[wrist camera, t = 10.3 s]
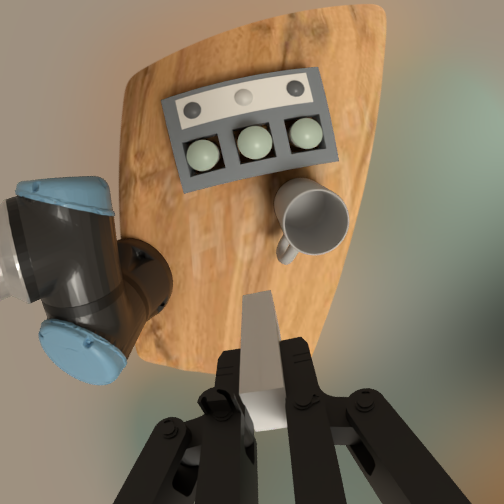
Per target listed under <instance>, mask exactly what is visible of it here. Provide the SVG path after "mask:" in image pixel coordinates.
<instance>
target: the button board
mask: <svg viewBox="0 0 504 504" xmlns="http://www.w3.org/2000/svg"><path fill="white" fill-rule="evenodd" d="M298 73H306V75H307V78H308V82H309V86H310V90H311V94H312V98H313V102H309V103H302V104H295V105H288V106H282V107H276V108H270V109H265V110H259V111H254V112H249V113H245V114H240V115H236V116H231V117H227V118H223V119H219V120H215V121H211V122H207V123H204V124H200V125H196V126H193V127H189V128H186V129H183V130H182V128H181V124H180V120H179V116H178V111H177V107H176V102H175V100H178V99H181V98H184V97H188V96H191V95H194V94H198V93H201V92H205V91H209V90H213V89H216V88H221V87H225V86H229V85H233V84H238V83H243V82H248V81H253V80H258V79H264V78H270V77H276V76H283V75H290V74H298ZM161 103H162V107H163V112H164V116H165V120H166V125H167V129H168V133H169V137H170V141H171V145H172V150H173V154H174V158H175V161H176V165H177V169H178V173H179V177H180V181H181V184H182V188H183V192H184V194H185V193H188V192H192V191H196V190H200V189H204V188H208V187H212V186H216V185H220V184H224V183H228V182H232V181H237V180H241V179H246V178H250V177H255V176H259V175H264V174H269V173H274V172H279V171H284V170H289V169H295V168H300V167H306V166H312V165H318V164H324V163H330V162H336V161H339V158H338V153H337V147H336V142H335V137H334V132H333V127H332V122H331V117H330V113H329V108H328V104H327V100H326V96H325V92H324V88H323V84H322V80H321V76H320V72H319V69H318V67H311V68H301V69H292V70H284V71H277V72H271V73H265V74H259V75H253V76H248V77H243V78H238V79H234V80H229V81H225V82H221V83H217V84H213V85H209V86H205V87H202V88H198V89H195V90H191V91H188V92H184V93H181V94H178V95H175V96H172V97H169V98H166V99H163V100H161ZM310 117H312V119H313V120H315V121H316V122H317V123H318V124H319V125H320V127H321V129H322V133H323V135H322V140H321V142H320V143H319V144H318V148H317V149H311V150H305V151H299V152H293V153H291V151H290V146H289V141H288V137H287V132H286V128H285V123H284V121H290V120H296V119H302V118H310ZM262 125H267V127H268V132H269V134H270V135H271V138H272V150H273V154H274V156H272V157H267V158H262V159H257V160H253V161H248V162H244V163H241V160H240V155H239V151H238V147H237V143H236V139H235V134H234V131H238V130H243V129H246V128H248V127H251V126H262ZM217 135H218V138H219V142H220V146H221V151H222V155H223V159H224V163H225V167H222V168H218V169H214V170H210V171H206V172H202V173H199V174H196V170H195V169H193V168H192V167H191V166H190V165H189V163H188V161H187V151H188V148H189V147H190V146H189V143H191V142H195V141H198V140H202V139H206V138H210V137H213V136H217Z"/></svg>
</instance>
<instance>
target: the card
mask: <svg viewBox="0 0 504 504" xmlns="http://www.w3.org/2000/svg"><path fill="white" fill-rule="evenodd" d="M175 102H176V107H177V111H178V116H179V120H180V124H181V128H182V130H183V129H186V128H189V127H193V126H196V125H200V124H204V123H207V122H211V121H215V120H219V119H223V118H227V117H231V116H236V115H240V114H245V113H249V112H254V111H259V110H265V109H270V108H276V107H282V106H288V105H295V104H302V103H309V102H313V98H312V94H311V90H310V86H309V82H308V78H307V75H306V73H298V74H290V75H283V76H276V77H270V78H264V79H258V80H253V81H248V82H243V83H238V84H233V85H229V86H225V87H221V88H216V89H213V90H209V91H205V92H201V93H198V94H194V95H191V96H188V97H184V98H181V99H178V100H175Z"/></svg>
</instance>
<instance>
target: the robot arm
mask: <svg viewBox="0 0 504 504" xmlns="http://www.w3.org/2000/svg"><path fill="white" fill-rule="evenodd" d="M15 192H16V195H17V196H16V197H12V198H9V199H6V200H3V202H2V203H1V205H0V301H1V300H3V299H5V298H8V297H10V296H13V297H16V298H18V299H20V300H22V301H24V302H26V303H28V304H30V303H32V302H35V301H37V300H39V299H41V301H42V303H43V306H44V309H45V312H46V315H47V320H44V321H43V322H42V324H41V328H40V331H39V340H40V343H41V346H42V348H43V350H44V351H45V353H46V354H47V355H48V357H49V358H50V359H51V360H52V361H53V362H54V363H55V364H56V365H57V366H58V367H59V368H60V369H62V370H63V371H64V372H66V373H67V374H69V375H71V376H72V377H74V378H76V379H78V380H80V381H83V382H85V383H89V384H94V385H107V384H110V383H112V382H113V381H115V380H116V379H117V377H118V376H119V374H120V373H121V371H122V370H123V368H124V367H125V366H126V364H127V359H128V357H129V355H130V353H131V351H132V349H133V347H134V345H135V343H136V341H137V339H138V337H139V335H140V333H141V331H142V329H143V327H144V325H145V323H146V321H148V320H149V319H151V318H152V317H154V316H155V315H157V314H158V313H159V312H161V311H162V310H163V308H164V307H165V306H166V304H167V302H168V300H169V298H170V296H171V293H172V289H173V279H172V274H171V271H170V268H169V266H168V264H167V262H166V261H165V259H164V258H163V257H162V255H161V254H160V253H159V252H158V251H157V250H156V249H154V248H153V247H152V246H150V245H149V244H147V243H145V242H142V241H140V240H136V239H120V240H117V239H116V232H115V223H114V216H115V213H114V211H113V209H112V204H111V196H110V189H109V186H108V184H107V182H106V181H105V180H104V179H102V178H100V177H96V176H82V177H63V178H48V179H38V180H31V181H21V182H19V183H18V184H17V188H16V190H15ZM198 404H199V406H200V407H201V409H202V410H203V412H204V415H202V416H200V417H198V418H195V419H193V420H189V421H186V422H183V421H182V420H181V419H179V418H176V417H169V418H166V419H163V420H162V421H160V422H159V423H158V424H157V425H156V426H155V428H154V430H153V431H152V433H151V435H150V437H149V439H148V441H147V443H146V444H145V446H144V448H143V450H142V452H141V453H140V455H139V457H138V459H137V461H136V463H135V464H134V466H133V468H132V470H131V472H130V474H129V475H128V477H127V479H126V481H125V483H124V485H123V486H122V488H121V490H120V492H119V494H118V495H117V497H116V499H115V501H114V503H113V504H194V501H195V504H258V474H257V443H256V439H255V437H254V428H255V430H256V431H265V430H272V429H278V428H285V427H287V428H288V436H289V446H290V455H291V465H292V474H293V484H294V494H295V504H347V503H346V498H345V493H344V488H343V483H342V478H341V474H340V469H339V465H338V460H337V455H336V451H335V446H334V445H346V447H347V448H348V450H349V451H350V453H351V455H352V456H353V458H354V459H355V461H356V463H357V464H358V466H359V467H360V469H361V471H362V472H363V474H364V476H365V477H366V479H367V480H368V482H369V483H370V485H371V486H372V488H373V490H374V491H375V493H376V494H377V496H378V498H379V499H380V501H381V502H382V503H383V504H471V503H470V501H469V500H468V499H467V497H466V496H465V495H464V494H463V493H462V491H461V490H460V489H459V488H458V486H457V485H456V484H455V483H454V481H453V480H452V479H451V478H450V476H449V475H448V474H447V473H446V472H445V471H444V469H443V468H442V467H441V465H440V464H439V463H438V462H437V461H436V460H435V458H434V457H433V456H432V454H431V453H430V452H429V451H428V450H427V448H426V447H425V446H424V445H423V444H422V442H421V441H420V440H419V439H418V437H417V436H416V435H415V434H414V433H413V432H412V430H411V429H410V428H409V427H408V425H407V424H406V423H405V422H404V421H403V419H402V418H401V417H400V416H399V415H398V413H397V412H396V411H395V410H394V409H393V407H392V406H391V405H390V404H389V403H388V402H387V400H386V399H385V398H384V397H383V395H382V394H381V393H379V392H378V391H376V390H374V389H370V388H366V389H360V390H357V391H355V392H354V393H352V394H351V395H350V396H349V397H333V396H329V395H327V394H325V393H324V392H323V391H322V390H321V389H320V387H319V385H318V382H317V377H316V374H315V369H314V366H313V362H312V358H311V354H310V350H309V346H308V343H307V342H306V341H305V340H304V339H303V338H302V337H297V338H292V339H288V340H282V341H281V336H280V330H279V325H278V321H277V316H276V311H275V307H274V302H273V298H272V293H271V290H268V291H263V292H258V293H253V294H248V295H243V301H242V326H241V349H235V350H228V351H223V353H222V354H221V356H220V357H219V359H218V363H217V371H216V379H215V387H213V388H210V389H208V390H206V391H204V392H203V393H202V394H201V396H200V397H199V399H198Z"/></svg>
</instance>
